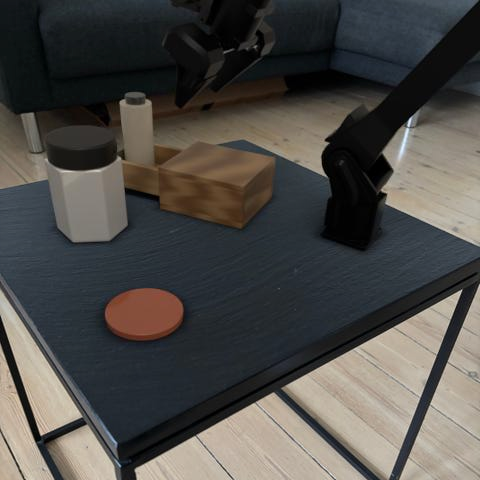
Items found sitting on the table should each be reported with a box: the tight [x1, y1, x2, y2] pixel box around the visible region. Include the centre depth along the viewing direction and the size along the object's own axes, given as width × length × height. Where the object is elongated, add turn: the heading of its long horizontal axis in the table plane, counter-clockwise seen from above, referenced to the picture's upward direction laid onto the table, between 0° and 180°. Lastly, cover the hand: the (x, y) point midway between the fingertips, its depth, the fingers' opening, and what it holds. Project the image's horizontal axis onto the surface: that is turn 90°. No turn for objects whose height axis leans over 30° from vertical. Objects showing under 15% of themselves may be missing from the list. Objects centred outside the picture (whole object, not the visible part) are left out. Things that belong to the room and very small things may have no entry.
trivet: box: [104, 287, 185, 342], centre depth 53 cm, size 8×8×1 cm
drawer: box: [117, 142, 186, 197], centre depth 77 cm, size 13×10×4 cm
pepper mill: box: [119, 91, 155, 167], centre depth 75 cm, size 4×4×11 cm
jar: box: [43, 125, 129, 244], centre depth 64 cm, size 9×8×12 cm
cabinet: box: [158, 141, 276, 230], centre depth 73 cm, size 13×12×6 cm
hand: (196, 98), depth 69 cm, fingers open, 9 cm apart
